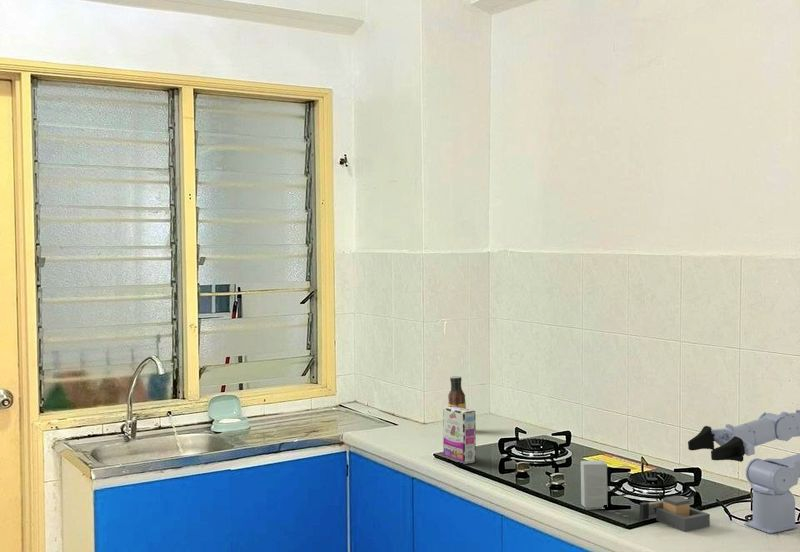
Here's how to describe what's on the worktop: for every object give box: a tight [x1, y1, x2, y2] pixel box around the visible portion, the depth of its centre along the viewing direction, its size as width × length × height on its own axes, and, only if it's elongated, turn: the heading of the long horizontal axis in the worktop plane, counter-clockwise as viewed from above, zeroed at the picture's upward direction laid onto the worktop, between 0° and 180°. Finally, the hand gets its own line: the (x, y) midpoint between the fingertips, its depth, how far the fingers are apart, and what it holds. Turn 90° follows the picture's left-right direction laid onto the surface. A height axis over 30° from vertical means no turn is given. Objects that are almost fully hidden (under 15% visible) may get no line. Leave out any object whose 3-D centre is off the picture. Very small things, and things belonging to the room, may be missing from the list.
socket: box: [655, 506, 711, 533], centre depth 220 cm, size 10×12×3 cm
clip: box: [639, 495, 685, 521], centre depth 223 cm, size 14×2×4 cm, turn 116°
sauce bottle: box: [447, 375, 467, 409], centre depth 323 cm, size 7×6×20 cm
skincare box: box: [580, 459, 608, 508], centre depth 232 cm, size 6×4×12 cm
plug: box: [662, 495, 691, 517], centre depth 221 cm, size 4×4×6 cm
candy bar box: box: [442, 406, 477, 462], centre depth 282 cm, size 11×5×16 cm, turn 33°
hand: (700, 450), depth 207 cm, fingers open, 7 cm apart
